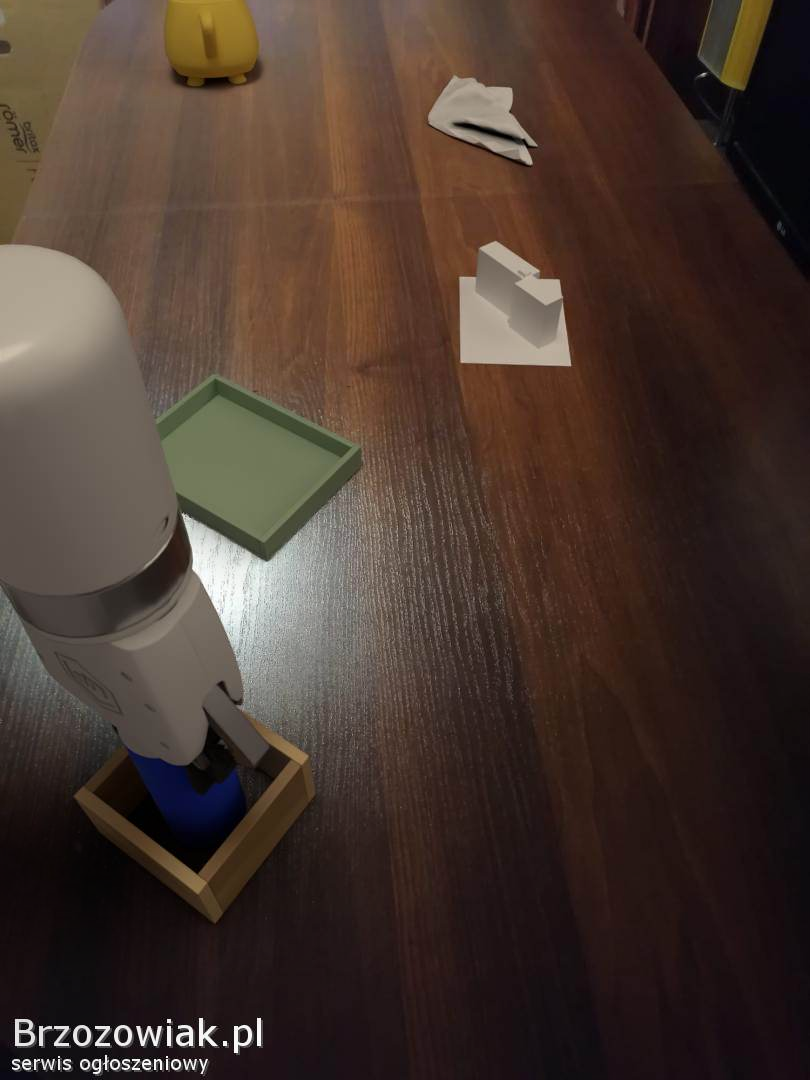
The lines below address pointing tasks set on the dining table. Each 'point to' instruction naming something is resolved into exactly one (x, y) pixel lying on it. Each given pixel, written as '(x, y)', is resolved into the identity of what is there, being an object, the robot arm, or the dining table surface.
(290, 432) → the tray
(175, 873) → the square frame
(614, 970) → the dining table surface
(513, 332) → the napkin holder
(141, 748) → the beverage can
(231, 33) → the teapot
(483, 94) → the cloth
